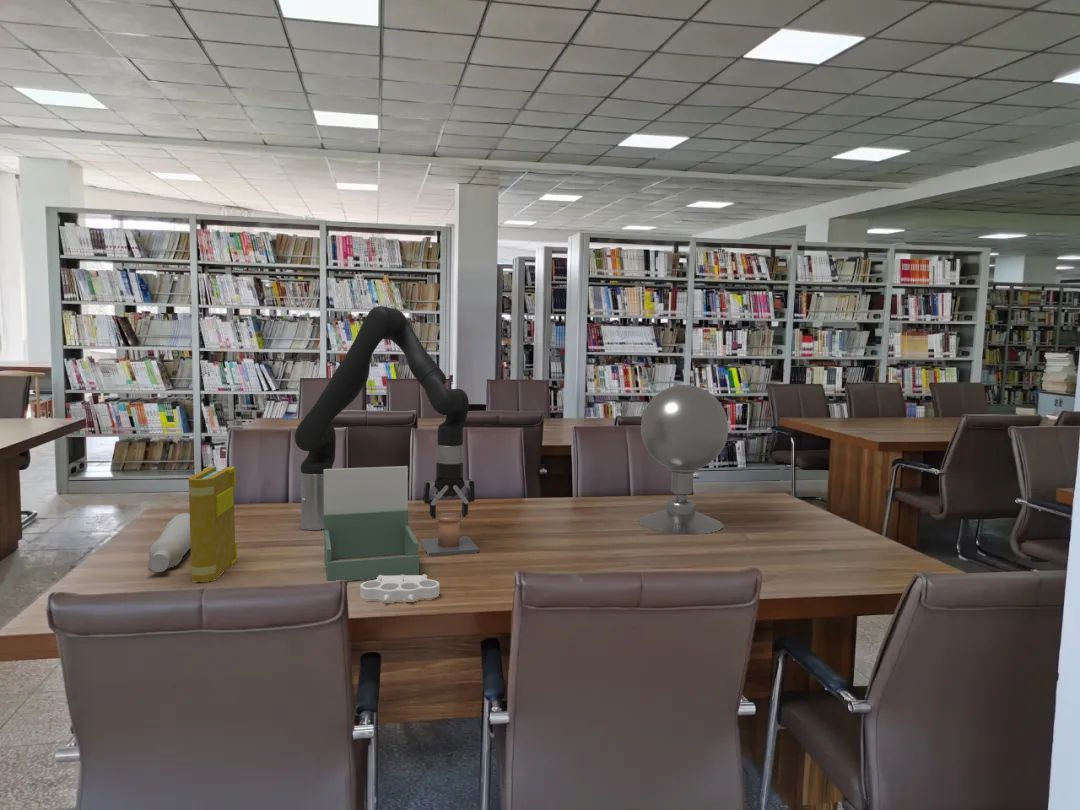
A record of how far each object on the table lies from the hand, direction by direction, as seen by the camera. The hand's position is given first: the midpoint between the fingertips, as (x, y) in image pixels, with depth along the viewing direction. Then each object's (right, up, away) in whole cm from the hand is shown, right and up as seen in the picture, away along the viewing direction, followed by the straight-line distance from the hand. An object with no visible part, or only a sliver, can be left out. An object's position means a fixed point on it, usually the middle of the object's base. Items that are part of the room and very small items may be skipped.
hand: (448, 517), depth 211 cm
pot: (0, -8, +1) cm, 8 cm away
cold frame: (-18, -10, -18) cm, 27 cm away
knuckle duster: (-7, -13, -37) cm, 40 cm away
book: (-56, -10, -24) cm, 62 cm away
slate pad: (0, -9, +1) cm, 9 cm away
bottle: (-71, -9, -14) cm, 73 cm away
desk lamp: (+71, -7, +33) cm, 79 cm away
